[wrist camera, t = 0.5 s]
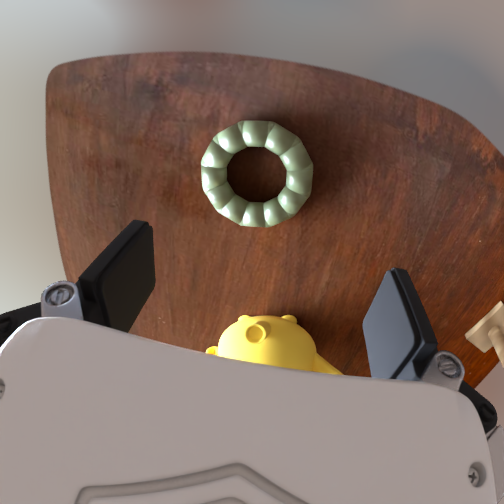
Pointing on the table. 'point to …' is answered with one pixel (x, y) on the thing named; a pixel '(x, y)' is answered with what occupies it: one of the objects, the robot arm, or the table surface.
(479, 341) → the square base peg stand
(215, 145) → the ring
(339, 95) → the table surface
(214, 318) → the table surface
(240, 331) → the teapot
